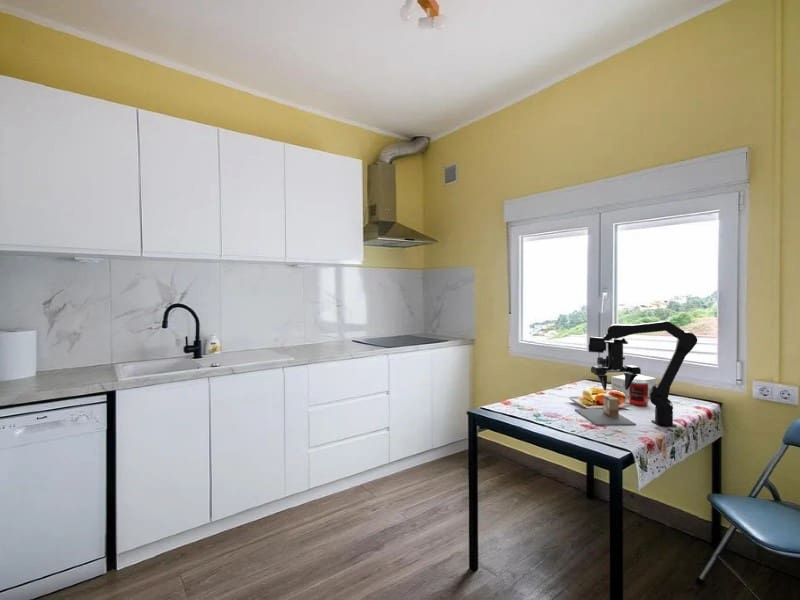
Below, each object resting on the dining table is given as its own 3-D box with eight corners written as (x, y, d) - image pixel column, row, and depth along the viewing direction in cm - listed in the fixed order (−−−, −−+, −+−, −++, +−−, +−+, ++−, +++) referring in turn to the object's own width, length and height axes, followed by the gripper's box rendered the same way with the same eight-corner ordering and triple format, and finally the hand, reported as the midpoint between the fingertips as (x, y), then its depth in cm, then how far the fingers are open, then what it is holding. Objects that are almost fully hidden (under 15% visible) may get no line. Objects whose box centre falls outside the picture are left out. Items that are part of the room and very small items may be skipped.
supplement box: (632, 390, 219) (633, 373, 219) (656, 396, 207) (656, 378, 207) (610, 393, 212) (610, 376, 212) (633, 400, 200) (634, 381, 200)
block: (618, 418, 171) (618, 399, 171) (609, 418, 171) (610, 399, 171) (611, 413, 177) (611, 395, 177) (602, 413, 177) (602, 395, 177)
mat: (635, 425, 164) (635, 423, 164) (596, 425, 164) (596, 423, 164) (610, 410, 184) (610, 408, 184) (574, 410, 184) (574, 409, 184)
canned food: (642, 401, 197) (642, 379, 196) (651, 406, 189) (651, 383, 188) (626, 401, 197) (626, 379, 197) (633, 406, 189) (634, 383, 189)
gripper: (626, 350, 181) (626, 385, 182) (584, 351, 181) (585, 385, 182) (641, 354, 170) (641, 391, 171) (597, 355, 170) (597, 392, 170)
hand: (615, 390), depth 174 cm, fingers open, 9 cm apart
